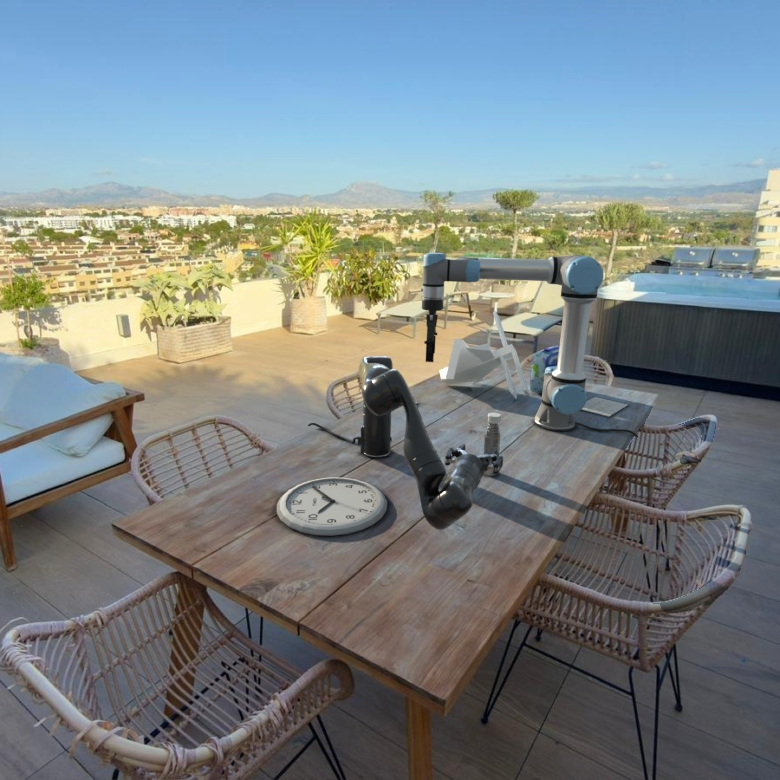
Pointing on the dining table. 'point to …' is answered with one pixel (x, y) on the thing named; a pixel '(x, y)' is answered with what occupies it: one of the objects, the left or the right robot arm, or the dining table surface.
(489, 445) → the bottle
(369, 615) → the dining table surface
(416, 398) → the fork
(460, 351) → the white plastic object
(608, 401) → the invitation card
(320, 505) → the wall clock
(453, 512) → the left robot arm
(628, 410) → the dining table surface
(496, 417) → the cap
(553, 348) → the lunch box
